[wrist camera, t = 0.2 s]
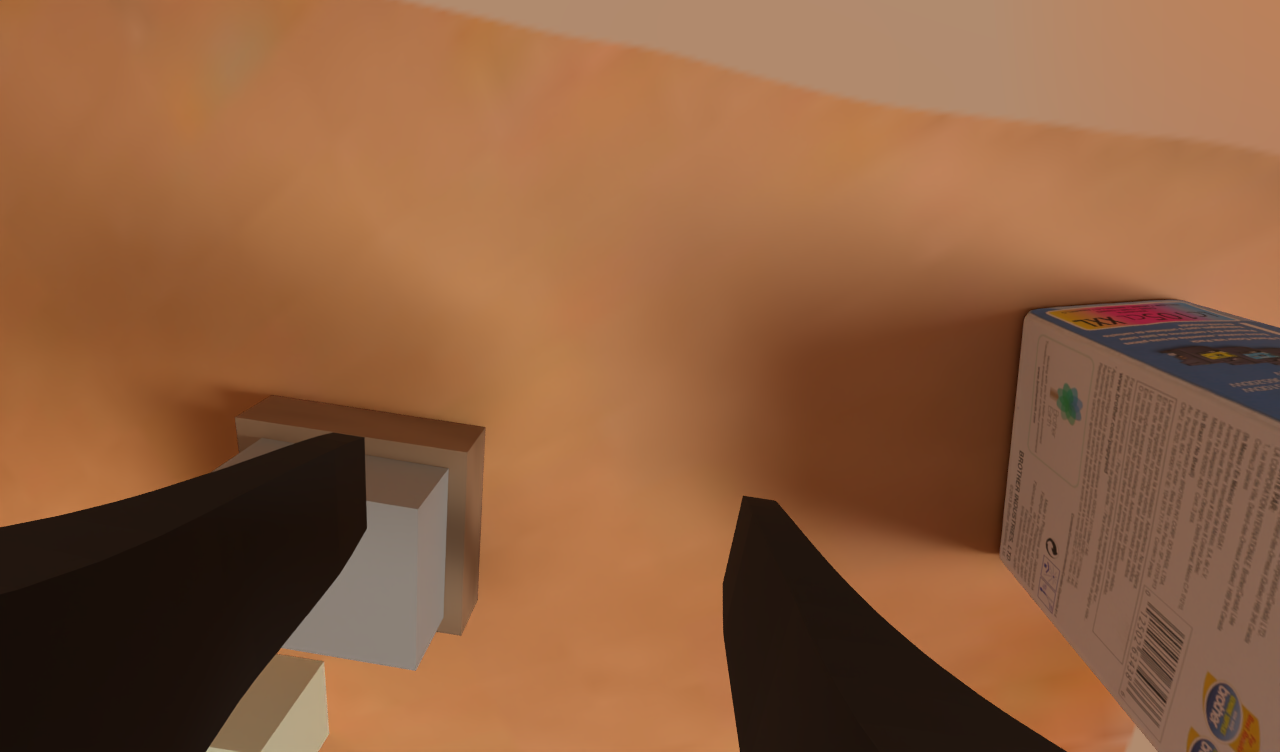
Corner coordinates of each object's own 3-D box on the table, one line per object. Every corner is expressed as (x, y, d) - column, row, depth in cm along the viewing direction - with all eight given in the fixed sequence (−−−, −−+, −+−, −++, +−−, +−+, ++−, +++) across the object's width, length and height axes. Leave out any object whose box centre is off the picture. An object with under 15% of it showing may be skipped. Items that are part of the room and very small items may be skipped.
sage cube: (330, 731, 28) (268, 833, 24) (236, 717, 28) (159, 815, 24) (324, 660, 27) (258, 754, 23) (225, 644, 27) (141, 736, 23)
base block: (481, 591, 25) (461, 635, 23) (296, 562, 26) (257, 603, 23) (489, 421, 23) (467, 452, 20) (281, 389, 23) (235, 417, 20)
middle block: (443, 617, 23) (415, 670, 20) (275, 589, 23) (228, 639, 21) (448, 468, 20) (417, 509, 18) (261, 437, 21) (207, 474, 18)
